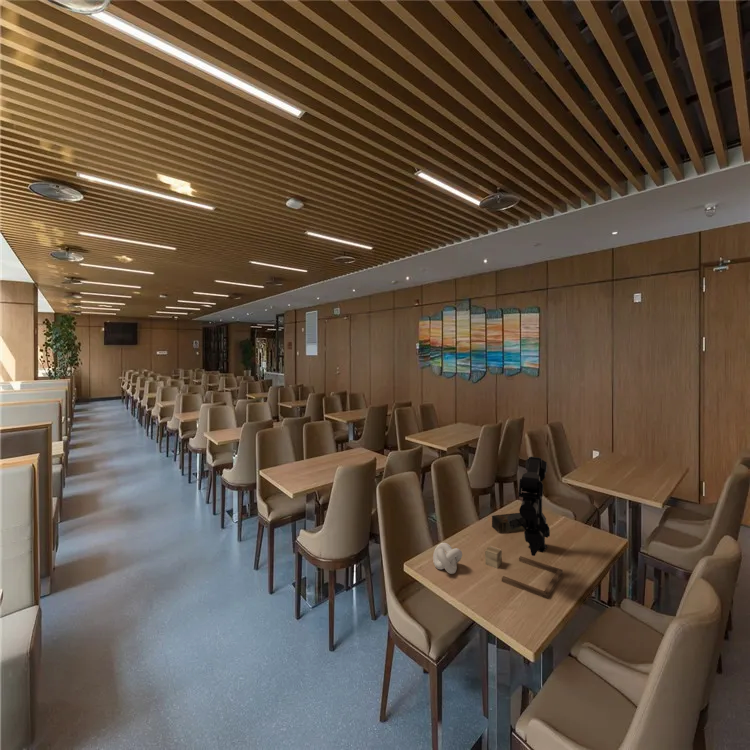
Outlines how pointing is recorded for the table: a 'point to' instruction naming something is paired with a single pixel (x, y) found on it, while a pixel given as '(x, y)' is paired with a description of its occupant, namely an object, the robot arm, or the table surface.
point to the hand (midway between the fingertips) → (531, 549)
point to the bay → (534, 590)
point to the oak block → (493, 556)
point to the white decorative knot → (446, 557)
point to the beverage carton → (503, 523)
